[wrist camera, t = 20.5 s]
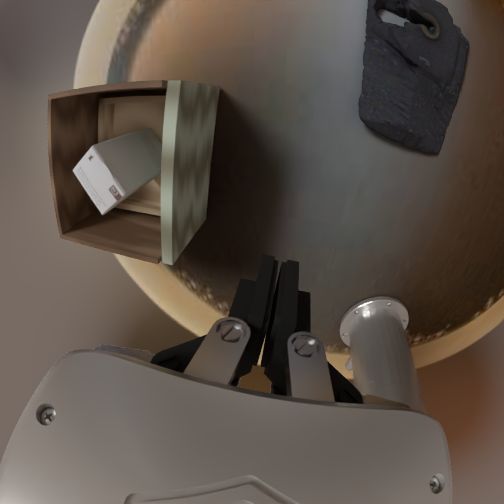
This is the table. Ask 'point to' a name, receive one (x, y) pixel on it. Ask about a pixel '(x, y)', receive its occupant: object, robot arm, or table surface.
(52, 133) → the walnut box
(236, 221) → the table surface
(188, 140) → the pull-out wooden drawer
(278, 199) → the table surface
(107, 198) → the skincare box
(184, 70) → the table surface
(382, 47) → the black tote bag
